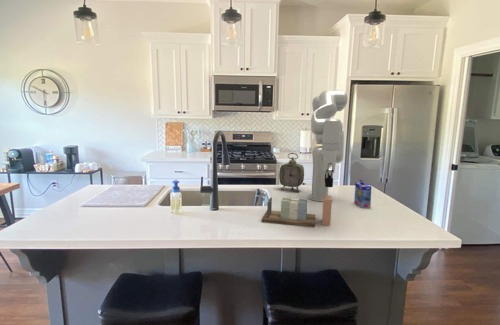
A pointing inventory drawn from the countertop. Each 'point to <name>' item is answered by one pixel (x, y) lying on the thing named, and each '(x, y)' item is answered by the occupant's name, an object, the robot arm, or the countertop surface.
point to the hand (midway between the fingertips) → (328, 184)
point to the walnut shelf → (286, 221)
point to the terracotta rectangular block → (326, 210)
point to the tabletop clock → (291, 174)
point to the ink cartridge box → (362, 194)
